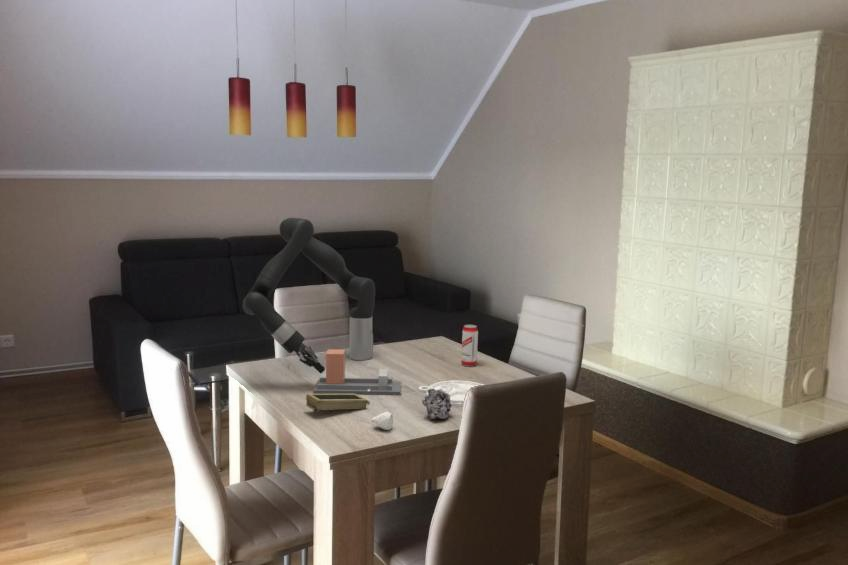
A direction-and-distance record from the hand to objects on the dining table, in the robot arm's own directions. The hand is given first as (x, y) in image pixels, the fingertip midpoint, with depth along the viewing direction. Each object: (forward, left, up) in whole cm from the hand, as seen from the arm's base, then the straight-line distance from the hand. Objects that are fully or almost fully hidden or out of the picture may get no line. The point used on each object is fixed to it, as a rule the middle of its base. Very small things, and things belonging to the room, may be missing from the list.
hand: (323, 371), depth 254 cm
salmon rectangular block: (-2, +4, -5) cm, 6 cm away
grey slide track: (-6, +11, -6) cm, 14 cm away
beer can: (-56, +31, -6) cm, 64 cm away
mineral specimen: (+3, +47, -7) cm, 47 cm away
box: (+15, +18, -7) cm, 24 cm away
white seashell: (+22, +38, -6) cm, 44 cm away
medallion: (-19, +43, -7) cm, 47 cm away
